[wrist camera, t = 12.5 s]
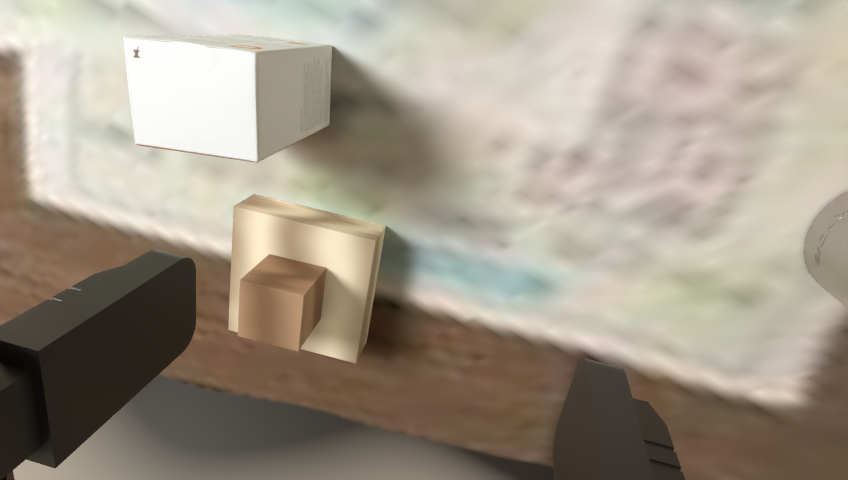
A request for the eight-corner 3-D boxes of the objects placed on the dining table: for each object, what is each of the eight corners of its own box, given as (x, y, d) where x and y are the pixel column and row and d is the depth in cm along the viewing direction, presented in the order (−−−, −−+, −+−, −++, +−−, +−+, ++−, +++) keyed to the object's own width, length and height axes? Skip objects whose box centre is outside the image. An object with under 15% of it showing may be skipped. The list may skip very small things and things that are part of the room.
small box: (238, 114, 43) (131, 145, 31) (235, 32, 41) (118, 32, 29) (332, 127, 42) (258, 164, 30) (335, 44, 40) (256, 49, 28)
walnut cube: (326, 267, 43) (303, 295, 39) (320, 319, 45) (298, 351, 40) (269, 254, 44) (239, 279, 39) (265, 305, 46) (237, 335, 41)
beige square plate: (387, 223, 45) (375, 240, 41) (368, 339, 50) (355, 363, 46) (256, 192, 46) (233, 206, 43) (249, 308, 51) (228, 329, 47)
